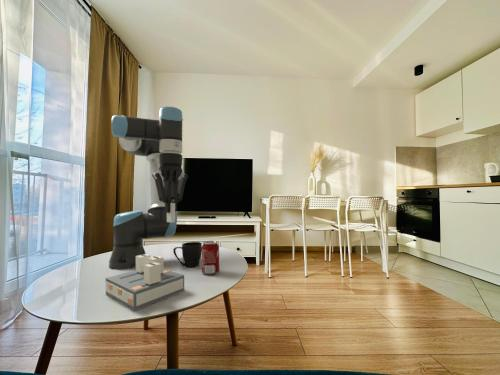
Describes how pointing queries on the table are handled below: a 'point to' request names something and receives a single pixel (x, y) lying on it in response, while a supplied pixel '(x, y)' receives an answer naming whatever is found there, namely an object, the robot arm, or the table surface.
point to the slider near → (152, 273)
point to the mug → (190, 254)
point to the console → (143, 288)
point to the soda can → (210, 258)
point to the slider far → (141, 262)
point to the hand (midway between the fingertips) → (170, 221)
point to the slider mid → (157, 260)
